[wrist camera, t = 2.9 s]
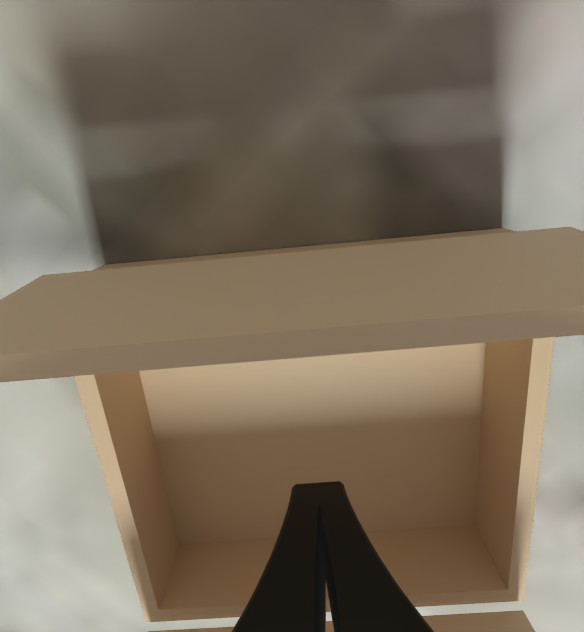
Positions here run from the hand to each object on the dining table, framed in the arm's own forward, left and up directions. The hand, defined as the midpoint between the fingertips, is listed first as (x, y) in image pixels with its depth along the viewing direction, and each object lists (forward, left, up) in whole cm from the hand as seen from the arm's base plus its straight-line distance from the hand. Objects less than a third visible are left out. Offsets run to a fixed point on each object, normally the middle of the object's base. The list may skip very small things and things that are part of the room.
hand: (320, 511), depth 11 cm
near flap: (-3, -5, +1) cm, 6 cm away
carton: (0, 0, -5) cm, 5 cm away
